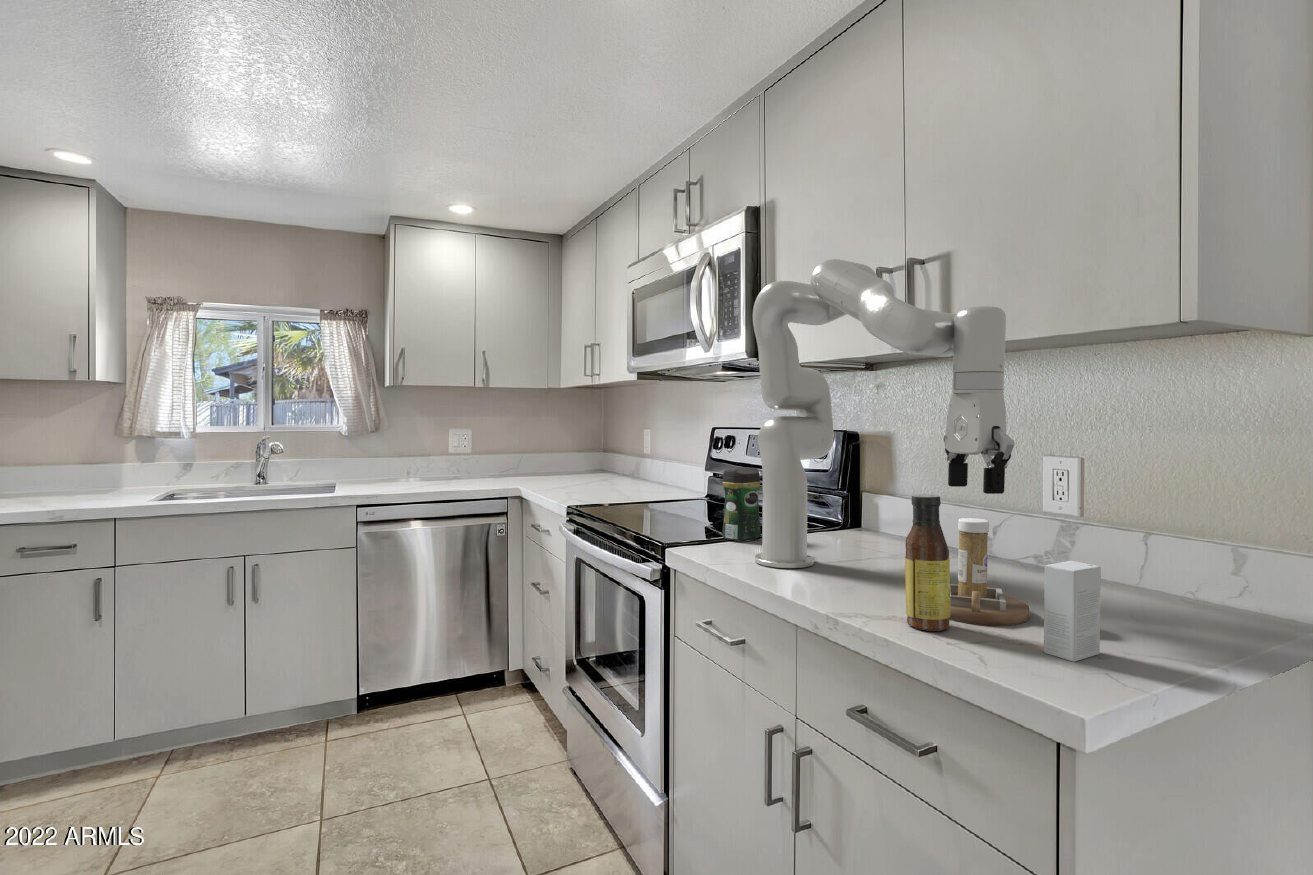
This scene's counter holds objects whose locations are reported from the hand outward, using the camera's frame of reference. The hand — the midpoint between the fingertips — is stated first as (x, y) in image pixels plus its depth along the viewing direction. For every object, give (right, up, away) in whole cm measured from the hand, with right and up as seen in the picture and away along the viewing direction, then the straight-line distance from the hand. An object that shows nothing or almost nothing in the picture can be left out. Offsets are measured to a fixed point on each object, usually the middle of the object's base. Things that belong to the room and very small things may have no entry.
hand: (974, 489), depth 109 cm
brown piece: (0, -20, +1) cm, 20 cm away
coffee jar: (-30, -18, +63) cm, 72 cm away
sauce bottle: (-11, -20, -8) cm, 24 cm away
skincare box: (+4, -21, -19) cm, 29 cm away
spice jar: (0, -19, +1) cm, 19 cm away
